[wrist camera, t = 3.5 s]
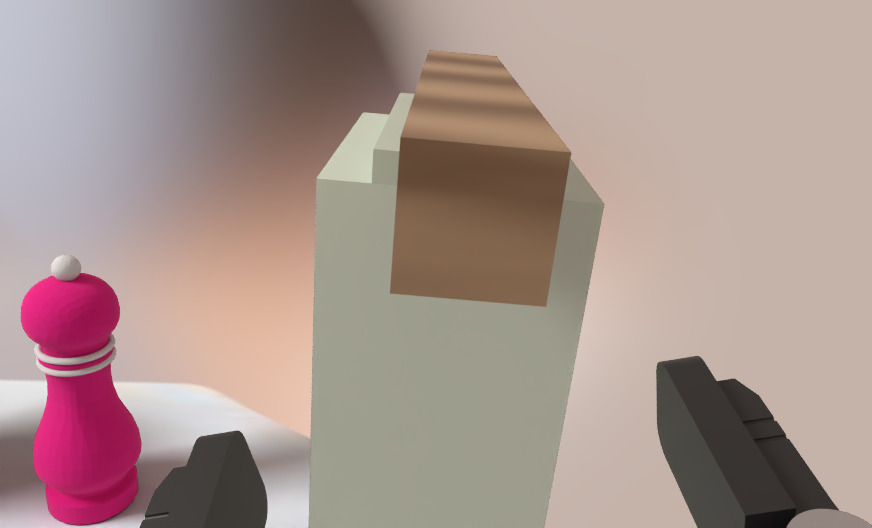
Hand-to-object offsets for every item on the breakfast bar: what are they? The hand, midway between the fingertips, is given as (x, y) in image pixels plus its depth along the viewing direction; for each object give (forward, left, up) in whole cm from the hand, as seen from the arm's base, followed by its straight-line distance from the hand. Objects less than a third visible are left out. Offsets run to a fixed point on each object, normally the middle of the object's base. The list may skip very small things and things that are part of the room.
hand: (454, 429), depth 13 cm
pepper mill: (+14, +37, -31) cm, 50 cm away
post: (+16, +9, -31) cm, 36 cm away
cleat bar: (+13, +7, +1) cm, 14 cm away
